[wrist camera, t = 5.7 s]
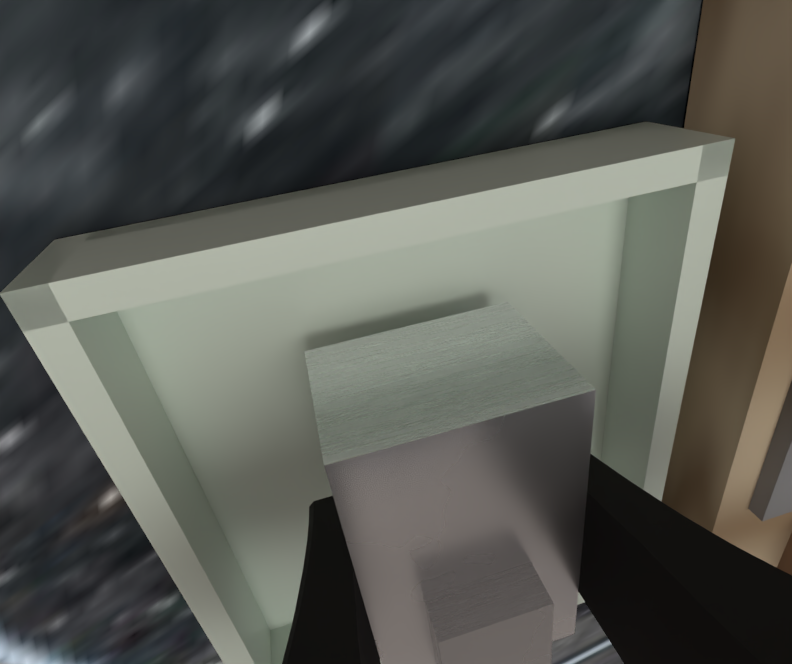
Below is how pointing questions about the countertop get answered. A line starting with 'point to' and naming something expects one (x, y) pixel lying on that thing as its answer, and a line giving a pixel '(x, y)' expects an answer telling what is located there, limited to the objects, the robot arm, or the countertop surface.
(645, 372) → the parts tray
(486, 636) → the lever cap
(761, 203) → the hand plane
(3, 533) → the countertop surface
